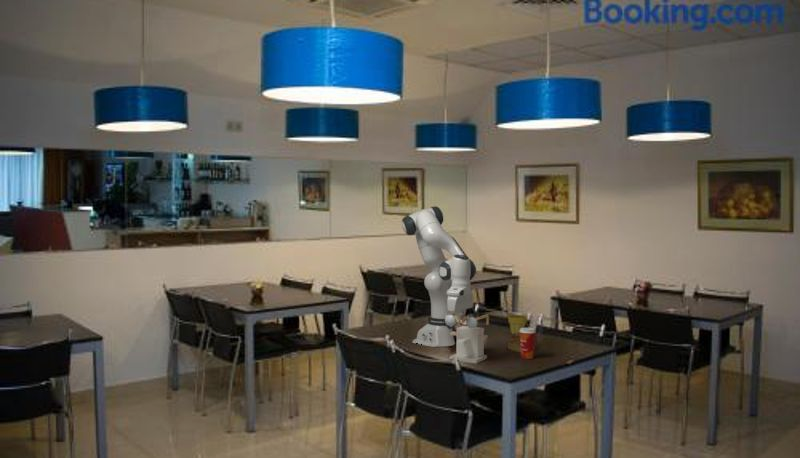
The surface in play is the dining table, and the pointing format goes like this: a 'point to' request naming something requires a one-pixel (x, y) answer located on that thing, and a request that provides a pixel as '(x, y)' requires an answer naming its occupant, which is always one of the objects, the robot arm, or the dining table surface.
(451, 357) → the white upright box
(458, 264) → the robot arm
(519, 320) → the plant pot
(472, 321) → the glasses
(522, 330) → the paper cup
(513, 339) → the pastry
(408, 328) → the dining table surface
